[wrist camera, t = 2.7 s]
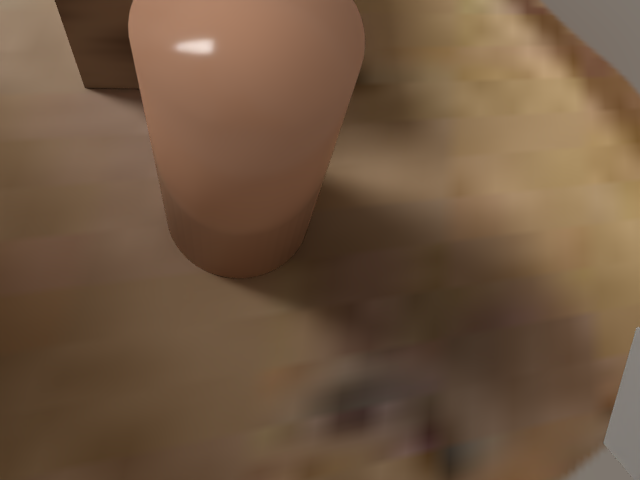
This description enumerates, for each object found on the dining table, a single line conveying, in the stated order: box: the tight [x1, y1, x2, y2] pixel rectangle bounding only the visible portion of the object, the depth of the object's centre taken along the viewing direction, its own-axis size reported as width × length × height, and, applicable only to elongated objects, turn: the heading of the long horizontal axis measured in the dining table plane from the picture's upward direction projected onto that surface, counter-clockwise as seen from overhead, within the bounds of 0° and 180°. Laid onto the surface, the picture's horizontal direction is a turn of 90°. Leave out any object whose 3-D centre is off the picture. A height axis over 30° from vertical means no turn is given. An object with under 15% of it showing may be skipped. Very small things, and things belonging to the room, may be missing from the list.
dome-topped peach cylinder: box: [128, 0, 365, 278], centre depth 22 cm, size 6×6×12 cm
